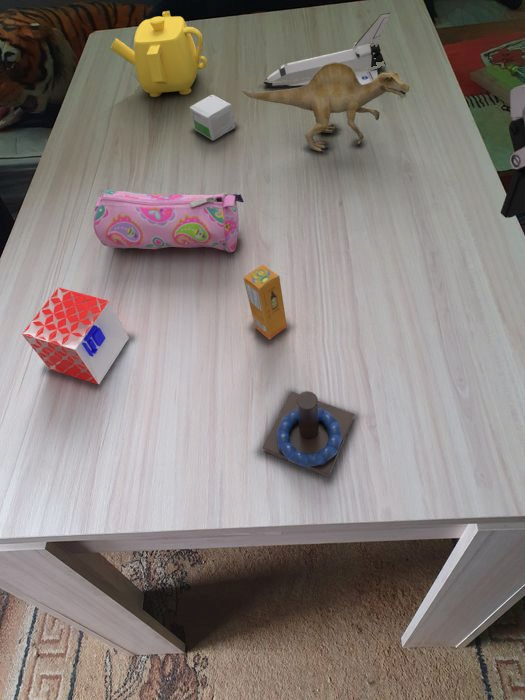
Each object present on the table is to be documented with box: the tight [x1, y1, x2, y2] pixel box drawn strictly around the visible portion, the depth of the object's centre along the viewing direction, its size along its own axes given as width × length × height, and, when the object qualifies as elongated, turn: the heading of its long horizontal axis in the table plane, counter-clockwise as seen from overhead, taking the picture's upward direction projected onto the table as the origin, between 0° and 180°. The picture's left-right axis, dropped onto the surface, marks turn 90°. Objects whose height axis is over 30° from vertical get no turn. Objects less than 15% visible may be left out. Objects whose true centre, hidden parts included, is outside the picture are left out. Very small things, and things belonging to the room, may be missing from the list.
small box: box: [189, 94, 236, 142], centre depth 97 cm, size 6×6×5 cm
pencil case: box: [93, 189, 244, 253], centre depth 79 cm, size 21×9×9 cm, turn 82°
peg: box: [262, 390, 355, 478], centre depth 58 cm, size 8×8×8 cm
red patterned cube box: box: [21, 287, 130, 386], centre depth 68 cm, size 8×8×8 cm
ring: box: [276, 408, 342, 468], centre depth 59 cm, size 7×7×1 cm
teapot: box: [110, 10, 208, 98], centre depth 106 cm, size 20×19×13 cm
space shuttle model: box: [263, 12, 391, 88], centre depth 102 cm, size 16×25×10 cm, turn 96°
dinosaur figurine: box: [241, 62, 410, 153], centre depth 88 cm, size 8×26×13 cm, turn 89°
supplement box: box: [243, 264, 288, 341], centre depth 66 cm, size 3×3×10 cm
